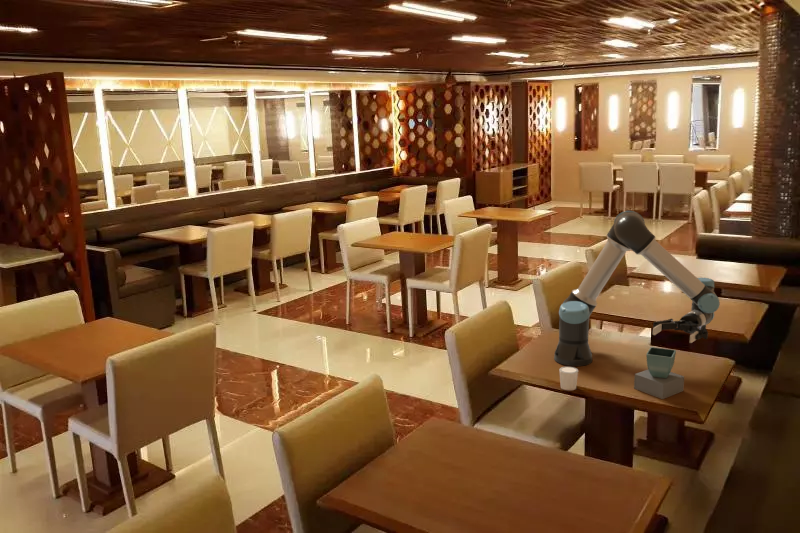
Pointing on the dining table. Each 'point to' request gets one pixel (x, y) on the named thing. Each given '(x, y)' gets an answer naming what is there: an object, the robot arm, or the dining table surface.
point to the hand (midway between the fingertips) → (671, 335)
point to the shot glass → (568, 378)
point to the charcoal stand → (659, 384)
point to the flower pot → (660, 361)
